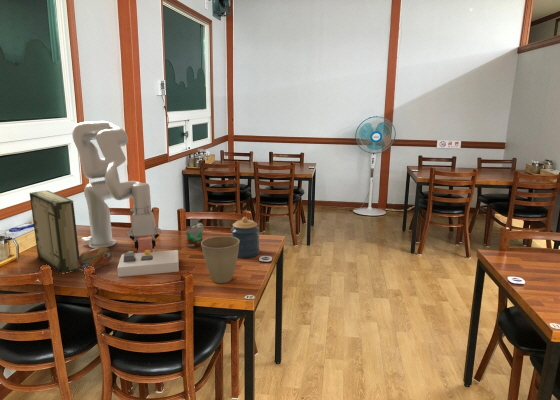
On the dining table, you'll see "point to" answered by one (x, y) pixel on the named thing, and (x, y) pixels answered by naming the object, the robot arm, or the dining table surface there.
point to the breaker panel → (149, 263)
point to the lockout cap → (145, 245)
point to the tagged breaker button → (146, 257)
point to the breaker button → (129, 257)
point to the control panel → (55, 230)
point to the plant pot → (220, 257)
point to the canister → (246, 237)
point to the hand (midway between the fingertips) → (145, 248)
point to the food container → (194, 235)
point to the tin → (95, 258)
